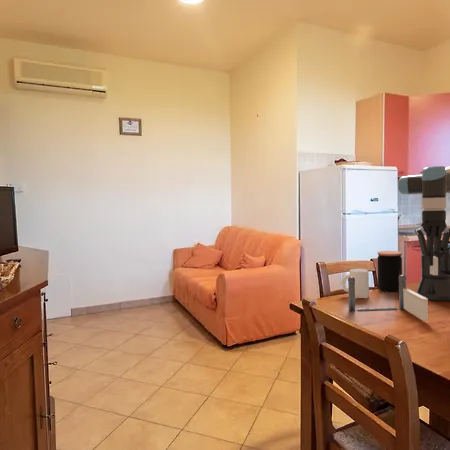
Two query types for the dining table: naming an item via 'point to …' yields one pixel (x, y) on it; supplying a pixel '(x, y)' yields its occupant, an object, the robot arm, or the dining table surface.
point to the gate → (416, 304)
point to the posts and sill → (352, 308)
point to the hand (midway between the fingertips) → (433, 274)
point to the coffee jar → (389, 270)
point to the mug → (358, 282)
